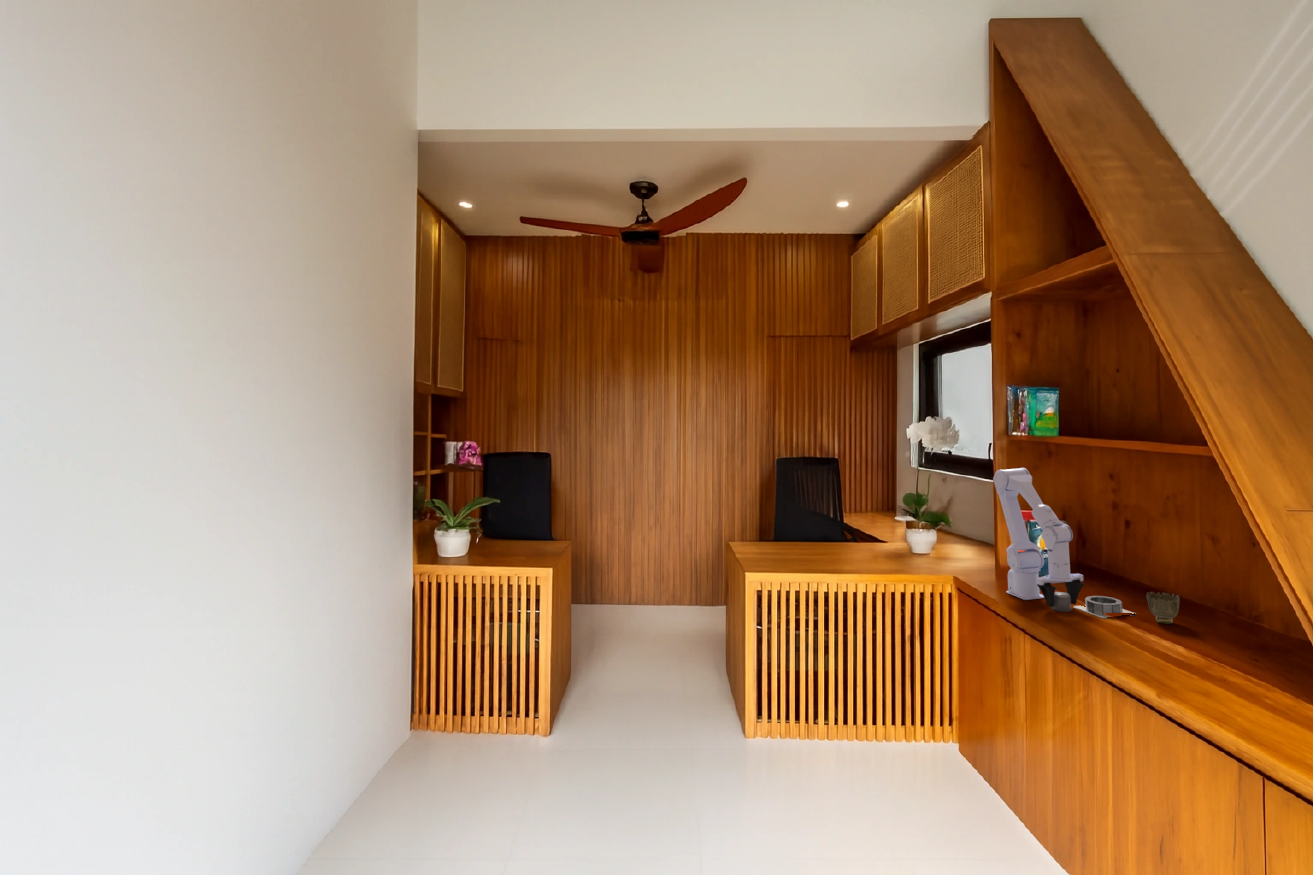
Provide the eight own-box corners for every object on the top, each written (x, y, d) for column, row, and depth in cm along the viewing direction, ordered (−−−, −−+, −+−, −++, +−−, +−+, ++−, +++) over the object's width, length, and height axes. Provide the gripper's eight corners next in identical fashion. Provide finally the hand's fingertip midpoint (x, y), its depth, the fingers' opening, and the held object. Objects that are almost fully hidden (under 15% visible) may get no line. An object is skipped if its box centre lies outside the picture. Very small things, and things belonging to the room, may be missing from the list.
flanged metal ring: (1073, 607, 187) (1072, 596, 187) (1104, 604, 188) (1104, 593, 188) (1102, 618, 176) (1102, 607, 176) (1136, 614, 177) (1135, 603, 177)
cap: (1048, 607, 188) (1047, 592, 188) (1062, 606, 189) (1061, 591, 189) (1060, 612, 183) (1059, 596, 183) (1075, 611, 184) (1074, 595, 184)
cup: (1178, 628, 165) (1176, 600, 164) (1145, 623, 170) (1143, 595, 170) (1183, 621, 169) (1182, 594, 169) (1150, 616, 175) (1149, 589, 175)
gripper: (1047, 567, 181) (1049, 610, 181) (1090, 563, 183) (1092, 606, 183) (1030, 562, 188) (1033, 604, 188) (1072, 558, 190) (1074, 599, 190)
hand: (1061, 604), depth 186 cm, fingers open, 7 cm apart
